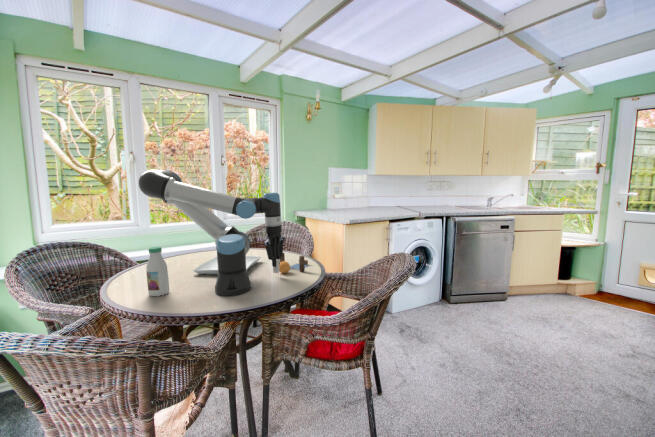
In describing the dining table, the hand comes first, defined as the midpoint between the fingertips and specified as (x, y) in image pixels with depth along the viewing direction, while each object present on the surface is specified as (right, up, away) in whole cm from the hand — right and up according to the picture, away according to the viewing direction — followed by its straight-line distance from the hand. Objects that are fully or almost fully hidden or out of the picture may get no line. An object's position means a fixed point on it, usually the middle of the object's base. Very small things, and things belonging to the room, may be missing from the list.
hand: (276, 272), depth 143 cm
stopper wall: (+12, +1, +20) cm, 23 cm away
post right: (+12, -1, +8) cm, 15 cm away
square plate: (-28, -1, +15) cm, 32 cm away
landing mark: (+9, 0, +16) cm, 19 cm away
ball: (+3, +2, +6) cm, 7 cm away
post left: (+1, 0, +15) cm, 15 cm away
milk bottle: (-47, -6, -19) cm, 51 cm away
